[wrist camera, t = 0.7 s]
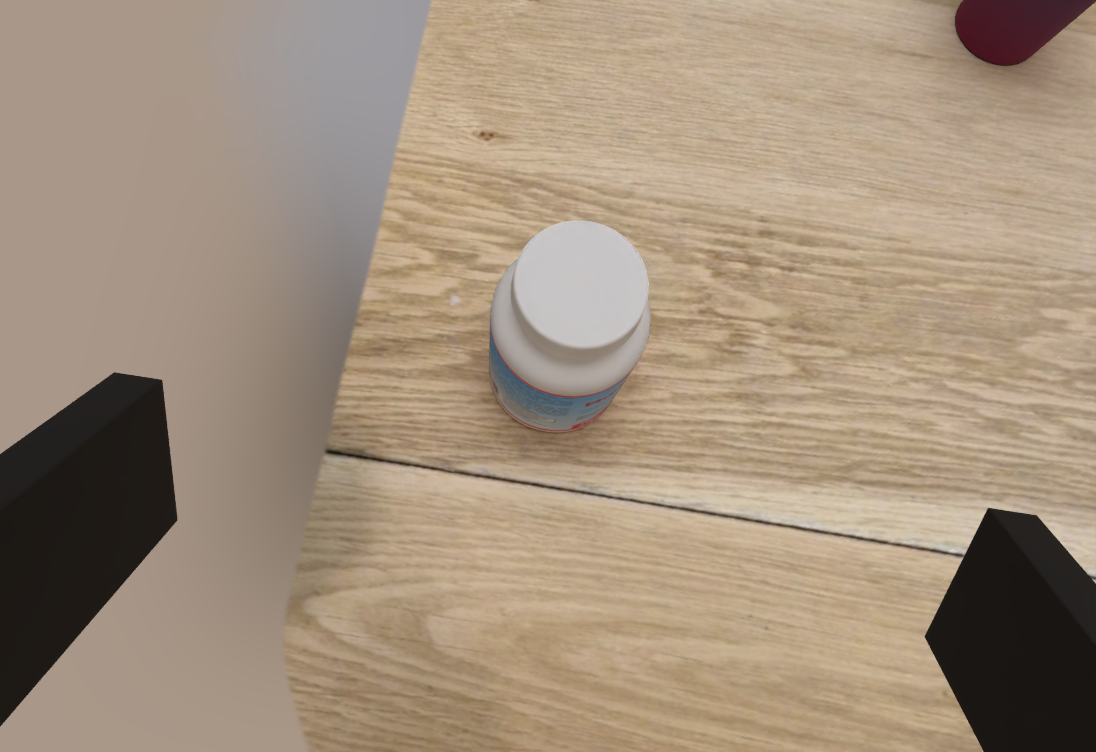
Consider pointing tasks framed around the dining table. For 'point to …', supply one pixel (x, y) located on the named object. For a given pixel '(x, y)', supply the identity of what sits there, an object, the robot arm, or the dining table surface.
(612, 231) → the pill bottle
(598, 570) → the dining table surface
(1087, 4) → the cup
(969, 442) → the dining table surface
